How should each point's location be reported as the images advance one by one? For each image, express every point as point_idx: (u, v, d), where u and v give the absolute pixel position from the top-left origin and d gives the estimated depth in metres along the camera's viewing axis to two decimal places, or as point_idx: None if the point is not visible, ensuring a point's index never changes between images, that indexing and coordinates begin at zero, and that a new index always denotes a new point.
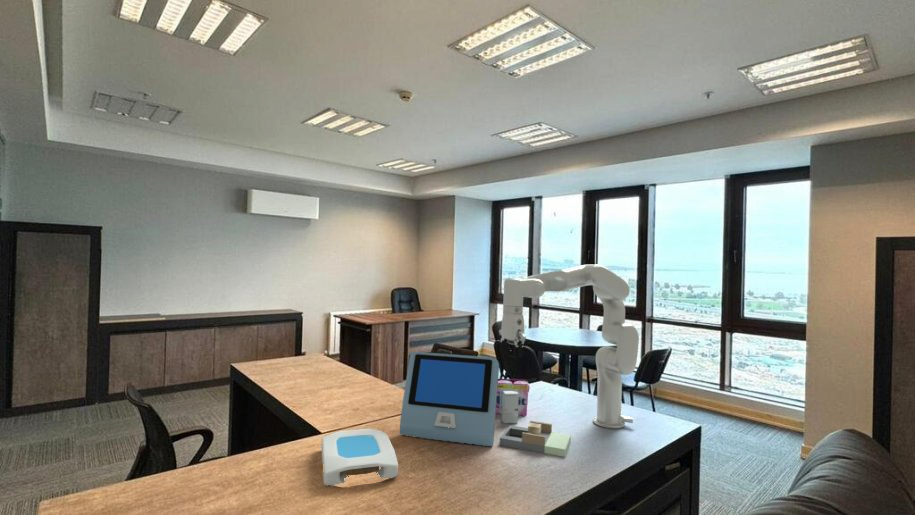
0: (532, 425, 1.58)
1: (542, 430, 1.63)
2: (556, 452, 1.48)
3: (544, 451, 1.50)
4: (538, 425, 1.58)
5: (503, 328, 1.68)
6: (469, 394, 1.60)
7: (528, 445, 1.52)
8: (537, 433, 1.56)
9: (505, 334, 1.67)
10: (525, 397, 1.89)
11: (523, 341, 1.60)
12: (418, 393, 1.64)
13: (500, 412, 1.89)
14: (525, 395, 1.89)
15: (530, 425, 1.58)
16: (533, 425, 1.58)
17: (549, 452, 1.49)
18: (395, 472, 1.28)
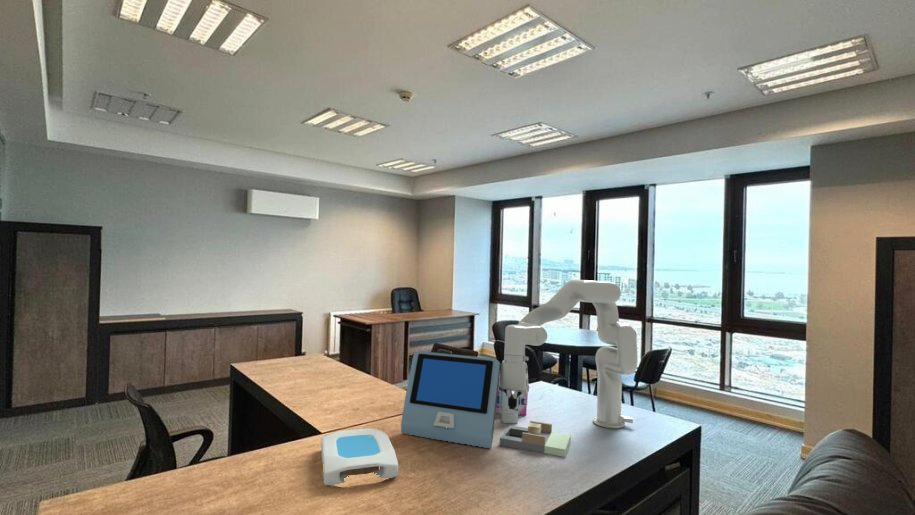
0: (532, 425, 1.58)
1: (542, 430, 1.63)
2: (556, 452, 1.48)
3: (544, 451, 1.50)
4: (538, 425, 1.58)
5: (505, 378, 1.61)
6: (469, 395, 1.59)
7: (528, 445, 1.52)
8: (537, 433, 1.56)
9: (509, 384, 1.60)
10: (525, 397, 1.89)
11: None
12: (419, 392, 1.65)
13: (500, 411, 1.90)
14: (525, 395, 1.89)
15: (530, 425, 1.58)
16: (533, 425, 1.58)
17: (549, 452, 1.49)
18: (395, 472, 1.28)
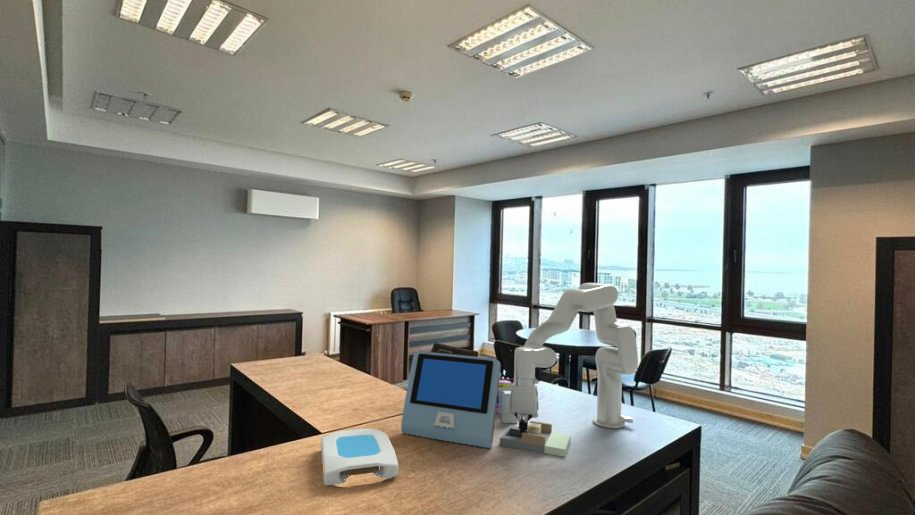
0: (532, 425, 1.58)
1: (542, 430, 1.63)
2: (556, 452, 1.48)
3: (544, 451, 1.50)
4: (538, 425, 1.58)
5: (515, 402, 1.59)
6: (469, 395, 1.59)
7: (528, 445, 1.52)
8: (537, 433, 1.56)
9: (519, 408, 1.59)
10: None
11: None
12: (420, 392, 1.65)
13: (500, 411, 1.90)
14: None
15: (530, 425, 1.58)
16: (533, 425, 1.58)
17: (549, 452, 1.49)
18: (395, 472, 1.28)
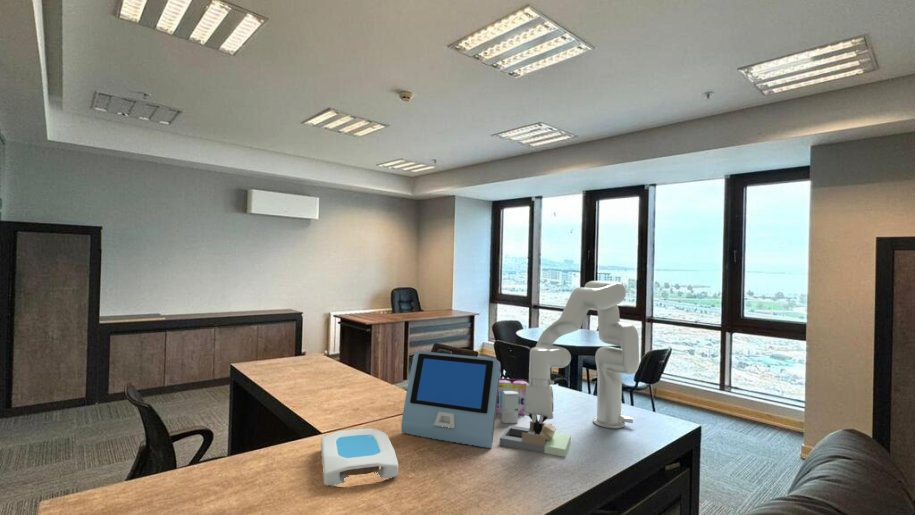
0: (548, 427, 1.55)
1: None
2: (556, 452, 1.48)
3: (544, 451, 1.50)
4: (553, 428, 1.56)
5: (530, 403, 1.57)
6: (469, 395, 1.59)
7: (528, 445, 1.52)
8: (550, 436, 1.54)
9: (534, 409, 1.56)
10: (524, 397, 1.89)
11: None
12: (420, 392, 1.65)
13: (500, 411, 1.90)
14: (524, 395, 1.89)
15: (545, 425, 1.56)
16: (548, 427, 1.55)
17: (549, 452, 1.49)
18: (395, 472, 1.28)
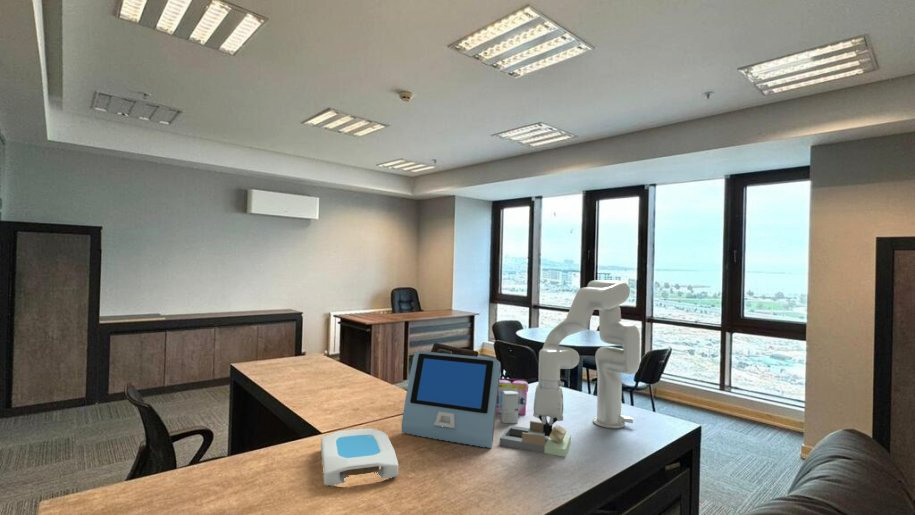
0: (558, 428, 1.54)
1: (542, 430, 1.63)
2: (556, 452, 1.48)
3: (544, 451, 1.50)
4: (563, 430, 1.54)
5: (540, 404, 1.56)
6: (469, 394, 1.59)
7: (528, 445, 1.52)
8: (560, 438, 1.52)
9: (544, 411, 1.55)
10: (524, 396, 1.89)
11: None
12: (420, 392, 1.65)
13: (499, 411, 1.90)
14: (524, 394, 1.89)
15: (555, 427, 1.54)
16: (558, 429, 1.54)
17: (549, 452, 1.49)
18: (395, 472, 1.28)
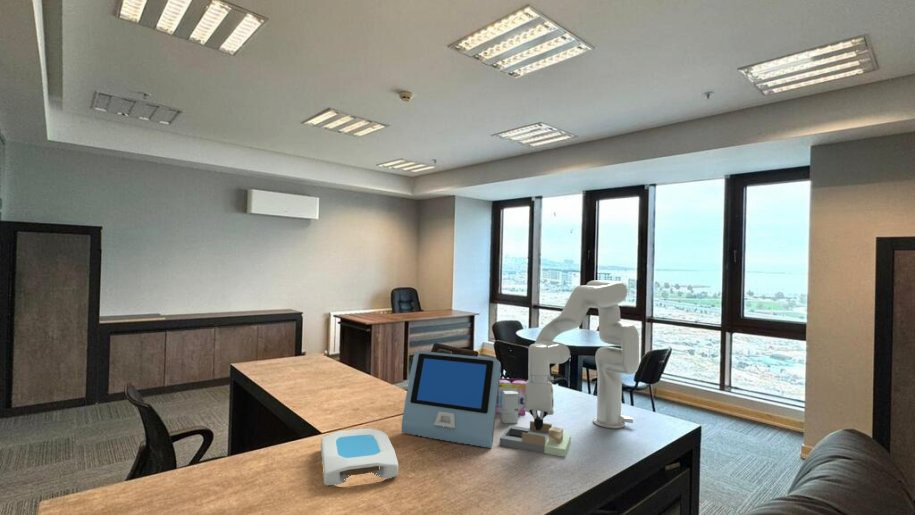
0: (553, 429, 1.54)
1: (542, 430, 1.63)
2: (556, 452, 1.48)
3: (544, 451, 1.50)
4: (559, 429, 1.55)
5: (530, 399, 1.57)
6: (469, 394, 1.59)
7: (528, 445, 1.52)
8: (558, 437, 1.52)
9: (534, 405, 1.57)
10: (524, 396, 1.90)
11: None
12: (420, 392, 1.65)
13: (499, 411, 1.90)
14: (524, 394, 1.90)
15: (551, 429, 1.55)
16: (554, 429, 1.55)
17: (549, 452, 1.49)
18: (395, 472, 1.28)
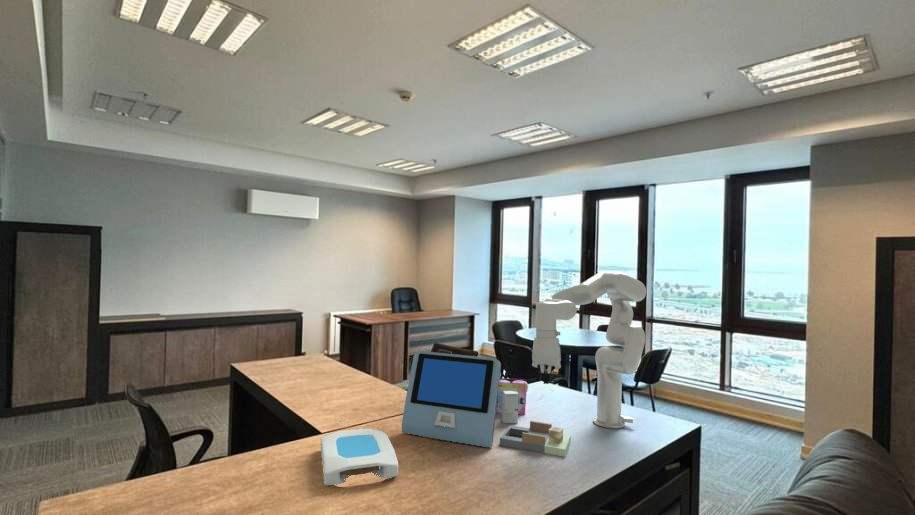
0: (553, 429, 1.54)
1: (542, 430, 1.63)
2: (556, 452, 1.48)
3: (544, 451, 1.50)
4: (559, 429, 1.55)
5: (538, 354, 1.62)
6: (469, 394, 1.60)
7: (528, 445, 1.52)
8: (558, 437, 1.52)
9: (542, 360, 1.62)
10: (523, 396, 1.90)
11: None
12: (420, 392, 1.66)
13: (499, 411, 1.90)
14: (523, 394, 1.90)
15: (551, 429, 1.55)
16: (554, 429, 1.55)
17: (549, 452, 1.49)
18: (395, 472, 1.28)
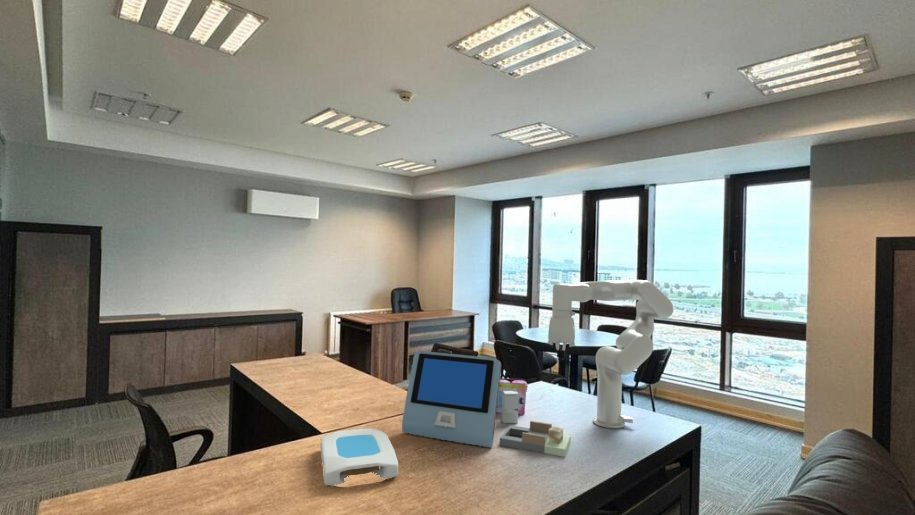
0: (553, 429, 1.54)
1: (542, 430, 1.63)
2: (556, 452, 1.48)
3: (544, 451, 1.50)
4: (559, 429, 1.55)
5: (554, 332, 1.74)
6: (470, 394, 1.60)
7: (528, 445, 1.52)
8: (558, 437, 1.52)
9: (558, 337, 1.74)
10: (523, 396, 1.90)
11: None
12: (420, 392, 1.66)
13: (499, 411, 1.90)
14: (523, 394, 1.90)
15: (551, 429, 1.55)
16: (554, 429, 1.55)
17: (549, 452, 1.49)
18: (395, 472, 1.28)
